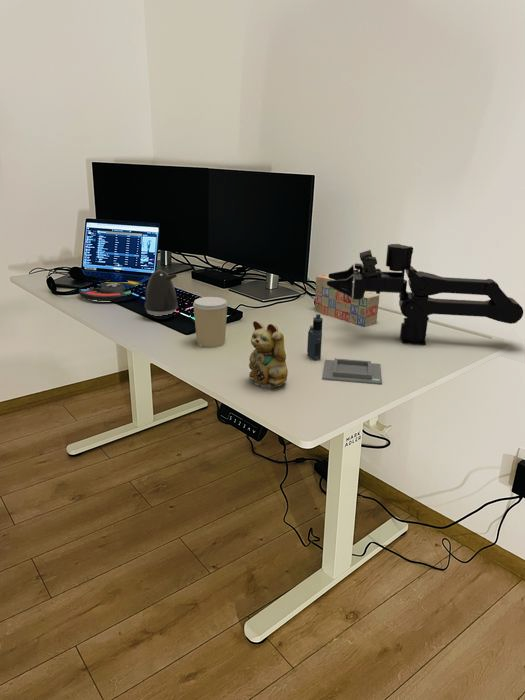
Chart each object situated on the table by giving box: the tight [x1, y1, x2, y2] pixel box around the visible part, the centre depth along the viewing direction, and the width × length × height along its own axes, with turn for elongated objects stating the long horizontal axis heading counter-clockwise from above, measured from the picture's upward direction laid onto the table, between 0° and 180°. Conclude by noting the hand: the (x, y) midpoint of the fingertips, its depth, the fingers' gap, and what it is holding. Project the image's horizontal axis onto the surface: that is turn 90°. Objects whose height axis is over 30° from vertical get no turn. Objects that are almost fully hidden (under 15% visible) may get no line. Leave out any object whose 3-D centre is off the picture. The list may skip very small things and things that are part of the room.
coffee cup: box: [192, 296, 228, 348], centre depth 149 cm, size 9×9×12 cm
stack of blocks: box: [314, 273, 380, 327], centre depth 174 cm, size 21×6×12 cm, turn 42°
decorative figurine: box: [248, 320, 289, 390], centre depth 125 cm, size 10×8×15 cm
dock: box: [321, 357, 383, 385], centre depth 133 cm, size 14×12×2 cm
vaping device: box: [306, 313, 324, 361], centre depth 140 cm, size 3×5×12 cm, turn 15°
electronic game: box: [78, 280, 144, 301], centre depth 195 cm, size 23×23×5 cm
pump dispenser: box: [144, 269, 179, 316], centre depth 169 cm, size 10×10×15 cm
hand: (327, 279), depth 154 cm, fingers open, 9 cm apart
